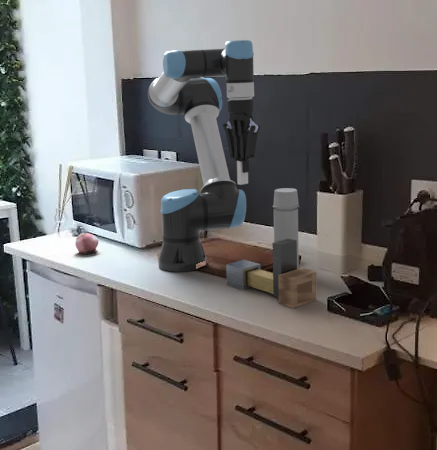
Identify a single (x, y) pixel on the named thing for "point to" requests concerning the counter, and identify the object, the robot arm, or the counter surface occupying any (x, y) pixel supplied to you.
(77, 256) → the counter surface
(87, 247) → the apple
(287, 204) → the water bottle
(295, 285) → the socket block
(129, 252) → the counter surface
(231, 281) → the sleeve
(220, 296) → the counter surface
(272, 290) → the grey and yellow block
